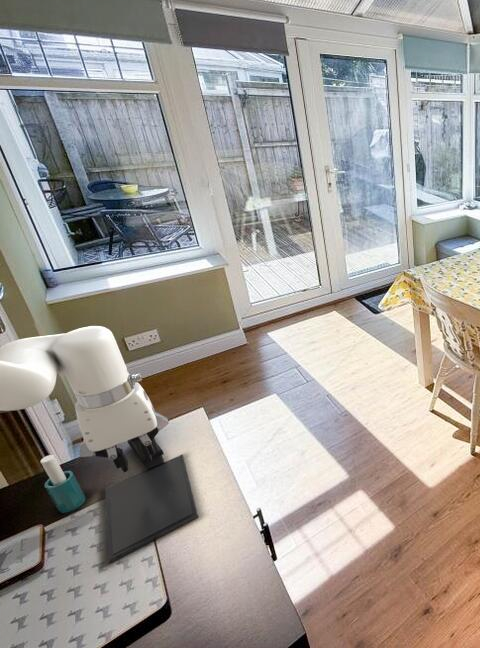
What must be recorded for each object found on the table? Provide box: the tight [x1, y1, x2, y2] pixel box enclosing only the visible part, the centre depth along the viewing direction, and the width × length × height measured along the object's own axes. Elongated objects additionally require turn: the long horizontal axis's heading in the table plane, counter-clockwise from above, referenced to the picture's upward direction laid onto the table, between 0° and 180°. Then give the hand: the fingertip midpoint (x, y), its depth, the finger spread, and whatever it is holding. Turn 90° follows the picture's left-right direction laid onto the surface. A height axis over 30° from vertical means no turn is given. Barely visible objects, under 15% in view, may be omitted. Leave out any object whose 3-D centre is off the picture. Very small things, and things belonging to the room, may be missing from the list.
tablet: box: [104, 454, 199, 564], centre depth 83 cm, size 13×19×1 cm
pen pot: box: [44, 470, 87, 514], centre depth 81 cm, size 4×4×7 cm
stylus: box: [39, 454, 67, 486], centre depth 80 cm, size 2×2×12 cm
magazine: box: [126, 437, 165, 470], centre depth 92 cm, size 4×13×15 cm, turn 54°
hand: (137, 462), depth 83 cm, fingers open, 3 cm apart
